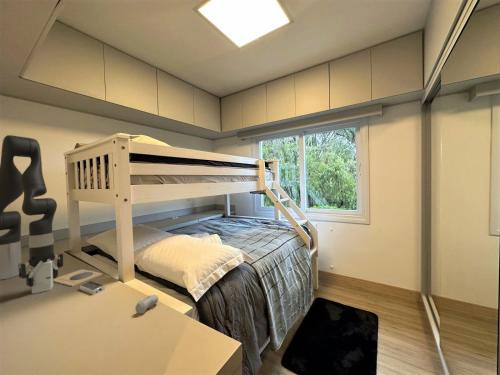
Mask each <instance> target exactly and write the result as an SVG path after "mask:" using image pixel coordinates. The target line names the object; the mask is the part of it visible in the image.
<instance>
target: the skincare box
mask: <svg viewBox="0 0 500 375" xmlns="http://www.w3.org/2000/svg"><path fill="white" fill-rule="evenodd" d="M52 262H53V263H54V260H53V261H50V262H44V263H42V264H41V265H40V267H39V268H38V270H37V271H36V272H35V273H34V275H33V276H32V277H33V286H32V287H31V294H32V295H34V294H38V293H43V292H47V291H51V290H52V289H53V287H54V282H53V267H52ZM33 269H34V267H33V266H32V270H33Z"/></svg>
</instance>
